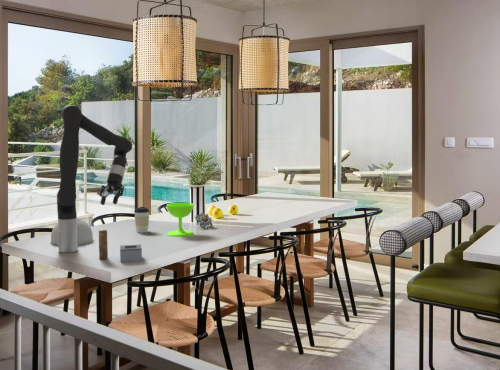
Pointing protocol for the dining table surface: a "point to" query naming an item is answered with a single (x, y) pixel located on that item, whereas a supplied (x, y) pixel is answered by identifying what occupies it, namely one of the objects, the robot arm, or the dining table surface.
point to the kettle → (82, 233)
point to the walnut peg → (103, 245)
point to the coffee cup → (141, 219)
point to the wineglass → (180, 217)
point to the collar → (130, 253)
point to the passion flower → (204, 220)
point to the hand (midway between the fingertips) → (108, 204)
